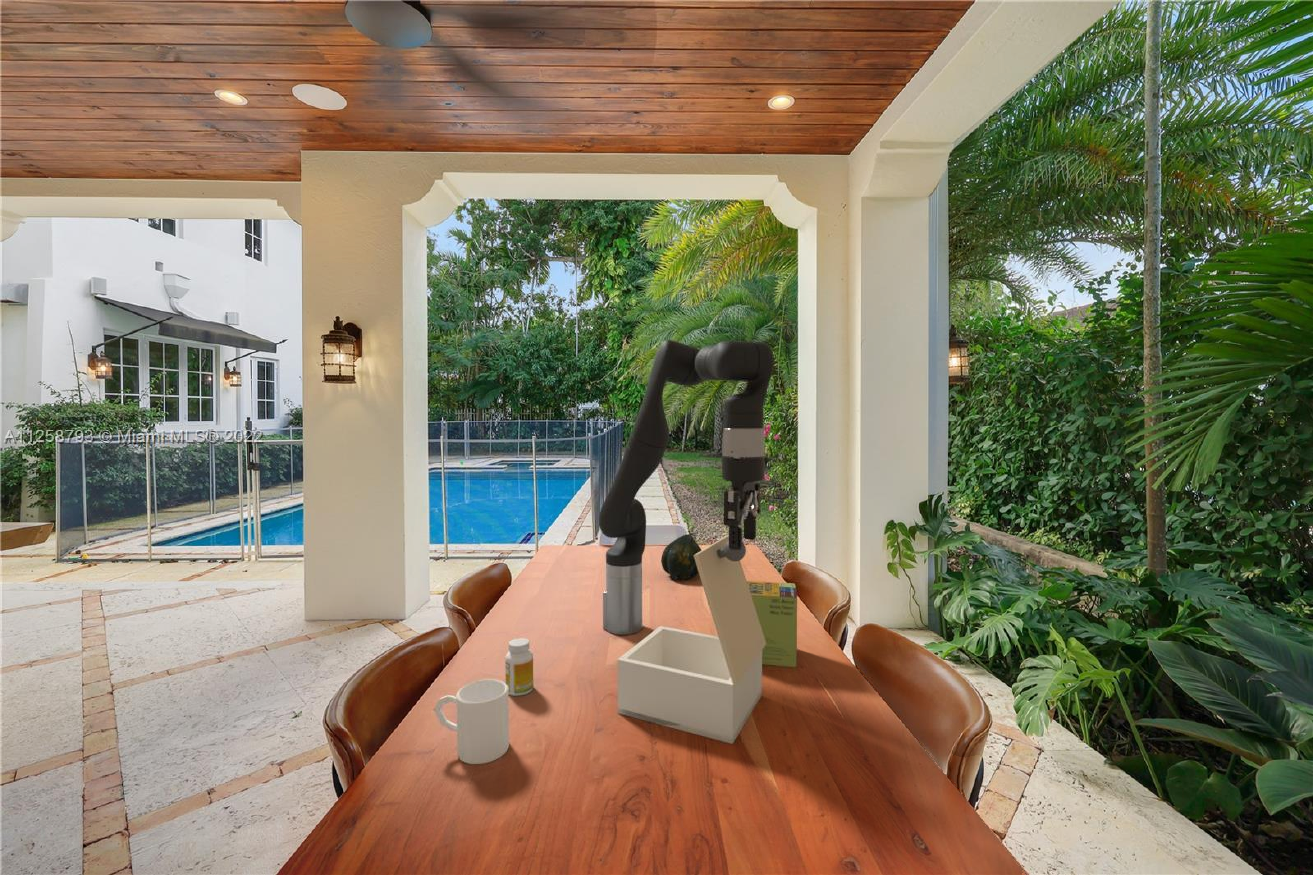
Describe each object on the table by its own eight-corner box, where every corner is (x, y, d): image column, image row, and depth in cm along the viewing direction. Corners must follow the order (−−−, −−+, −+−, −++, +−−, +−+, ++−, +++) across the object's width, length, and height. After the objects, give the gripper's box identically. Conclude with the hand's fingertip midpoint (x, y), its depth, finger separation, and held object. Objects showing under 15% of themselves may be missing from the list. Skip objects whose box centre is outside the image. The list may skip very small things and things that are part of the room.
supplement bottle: (538, 685, 112) (538, 638, 112) (523, 698, 107) (523, 649, 106) (515, 681, 114) (515, 635, 113) (500, 694, 109) (499, 645, 108)
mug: (444, 735, 95) (443, 678, 94) (514, 735, 95) (513, 678, 94) (424, 765, 87) (423, 703, 86) (501, 764, 87) (500, 703, 86)
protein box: (797, 668, 120) (797, 597, 119) (726, 662, 123) (726, 592, 122) (795, 648, 130) (795, 582, 129) (729, 643, 133) (729, 579, 132)
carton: (617, 713, 101) (617, 659, 101) (660, 672, 118) (660, 626, 117) (732, 744, 92) (732, 685, 91) (761, 695, 108) (762, 644, 107)
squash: (650, 565, 182) (680, 532, 181) (657, 555, 197) (685, 525, 195) (681, 595, 181) (712, 562, 179) (687, 583, 195) (715, 552, 194)
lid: (693, 555, 94) (724, 547, 91) (728, 534, 110) (755, 527, 107) (733, 684, 91) (766, 680, 89) (762, 644, 107) (791, 640, 105)
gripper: (735, 451, 107) (735, 534, 107) (709, 455, 94) (709, 550, 94) (774, 452, 103) (773, 538, 104) (752, 457, 90) (751, 555, 91)
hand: (742, 544), depth 99 cm, fingers open, 8 cm apart
